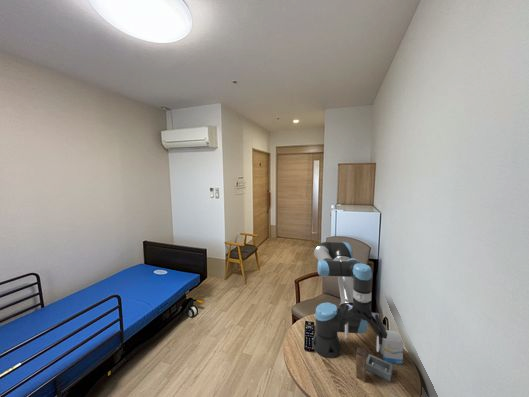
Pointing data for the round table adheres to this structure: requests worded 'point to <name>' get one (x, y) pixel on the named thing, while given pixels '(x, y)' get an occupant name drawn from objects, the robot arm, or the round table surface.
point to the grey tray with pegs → (379, 367)
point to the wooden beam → (361, 364)
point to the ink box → (392, 348)
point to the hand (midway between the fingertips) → (361, 342)
